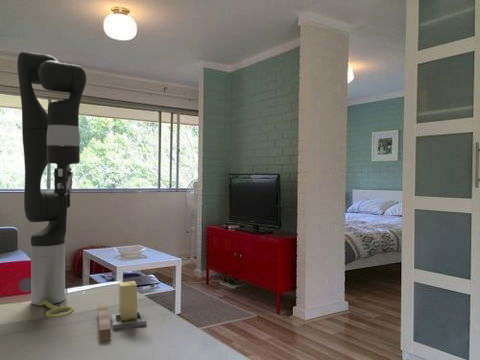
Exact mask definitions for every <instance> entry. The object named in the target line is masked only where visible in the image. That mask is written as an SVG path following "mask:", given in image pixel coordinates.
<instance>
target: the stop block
mask: <svg viewBox="0 0 480 360" xmlns="http://www.w3.org/2000/svg"><path fill="white" fill-rule="evenodd" d="M137 311H138V284H137V283H136V281H135V280H132V281H131V280H130V281H122V282H120V281H119V282H118V314H119V319H118V323H121V322H130V321H138V317H137Z"/></svg>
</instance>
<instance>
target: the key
mask: <svg viewBox="0 0 480 360" xmlns="http://www.w3.org/2000/svg"><path fill="white" fill-rule="evenodd" d="M37 306H38V307H40V306H46V307H47V308H48V309H49V310H47V311H46V313H45V317H46V318H48V319H49V318H50V319H51V318H60V317H61V318H62V317H64V316H68V315H70V313H71V314H72V312H74V311H75V309H74V307H73V306H68V305H67V306H60V307H58V305H54V304H51V303H49V302H48V301H47V300H44V301H43V302H41V303H38V305H37ZM66 311H67V312H66ZM59 312H63V313H59ZM55 313H59V314H55Z"/></svg>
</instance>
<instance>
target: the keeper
mask: <svg viewBox="0 0 480 360" xmlns="http://www.w3.org/2000/svg"><path fill="white" fill-rule="evenodd" d="M110 317H111V318H110V319H111V320H110V321H111V326H112V330H114V331H115V330H123V329H131V328H138V327H145V326H147V320H146V319H147V318H146V316H145V315H144V312H143V310H137V318H138V319H139V320H138V319H137V321H130V322H121V323H120V322H117V320H118V321H119V313H113V314H111V315H110Z"/></svg>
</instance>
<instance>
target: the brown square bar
mask: <svg viewBox="0 0 480 360" xmlns="http://www.w3.org/2000/svg"><path fill="white" fill-rule="evenodd" d="M108 307H109V306H108V305H99V306H98V305H97V317H98V318H97V319H98V320H97V321H98V334H99V335H98V337H99V338H98V339H99V342H102V341H110V340H111V339H112V336H111V331H112V329H111V322H110V321H111V320H110V316H109V315H110V314H109V308H108Z"/></svg>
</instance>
